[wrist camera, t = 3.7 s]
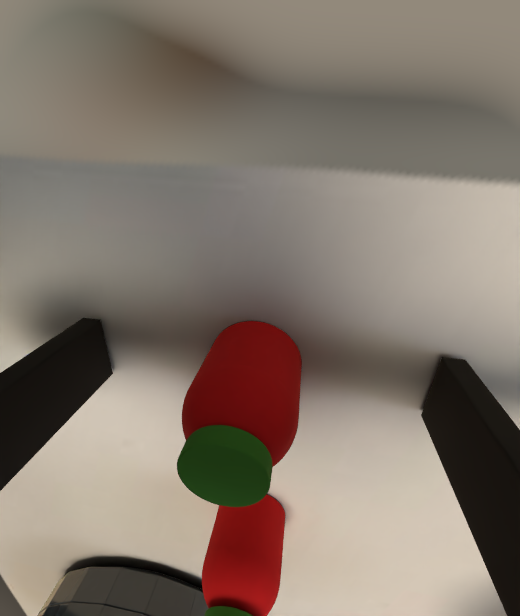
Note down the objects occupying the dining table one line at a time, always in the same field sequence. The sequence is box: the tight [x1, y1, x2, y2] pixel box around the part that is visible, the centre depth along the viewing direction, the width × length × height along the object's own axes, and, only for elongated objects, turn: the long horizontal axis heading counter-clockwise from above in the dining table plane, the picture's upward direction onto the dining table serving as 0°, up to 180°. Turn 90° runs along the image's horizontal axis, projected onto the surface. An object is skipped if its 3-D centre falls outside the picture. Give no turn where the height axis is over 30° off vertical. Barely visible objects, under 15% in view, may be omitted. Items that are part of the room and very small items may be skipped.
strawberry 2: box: [202, 494, 285, 616], centre depth 14 cm, size 4×4×5 cm
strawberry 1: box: [177, 321, 302, 507], centre depth 10 cm, size 4×4×5 cm
